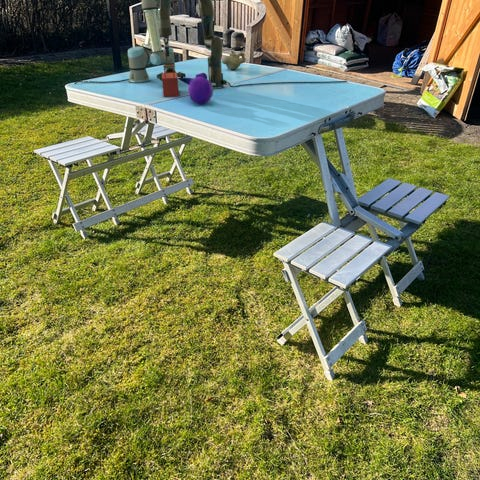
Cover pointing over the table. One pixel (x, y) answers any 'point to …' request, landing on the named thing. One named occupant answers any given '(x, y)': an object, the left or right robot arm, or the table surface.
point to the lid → (169, 75)
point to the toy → (199, 88)
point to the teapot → (233, 60)
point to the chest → (170, 88)
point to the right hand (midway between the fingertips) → (167, 55)
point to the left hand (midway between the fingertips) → (171, 78)
